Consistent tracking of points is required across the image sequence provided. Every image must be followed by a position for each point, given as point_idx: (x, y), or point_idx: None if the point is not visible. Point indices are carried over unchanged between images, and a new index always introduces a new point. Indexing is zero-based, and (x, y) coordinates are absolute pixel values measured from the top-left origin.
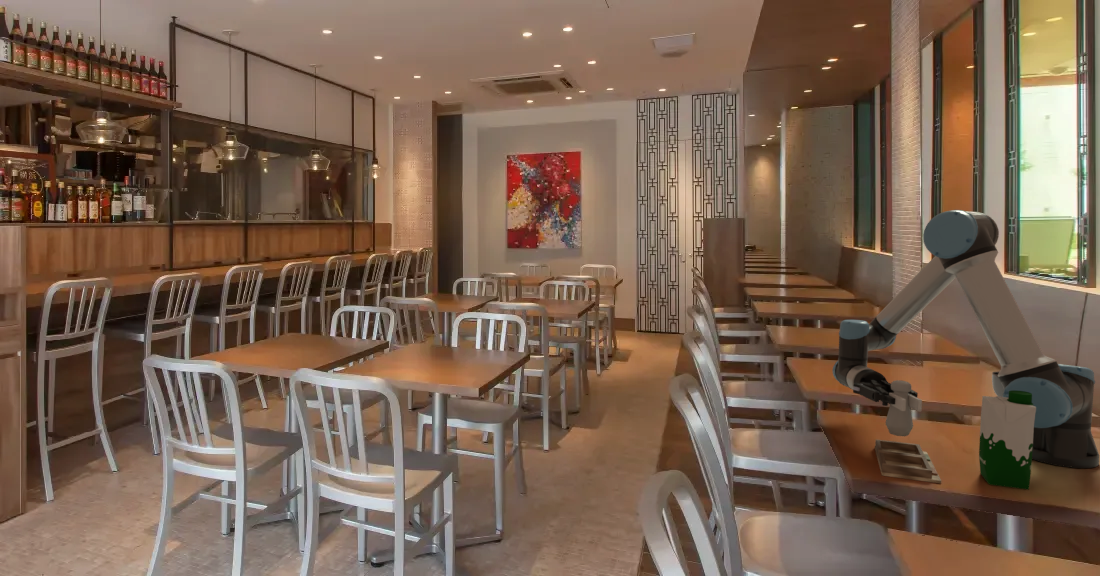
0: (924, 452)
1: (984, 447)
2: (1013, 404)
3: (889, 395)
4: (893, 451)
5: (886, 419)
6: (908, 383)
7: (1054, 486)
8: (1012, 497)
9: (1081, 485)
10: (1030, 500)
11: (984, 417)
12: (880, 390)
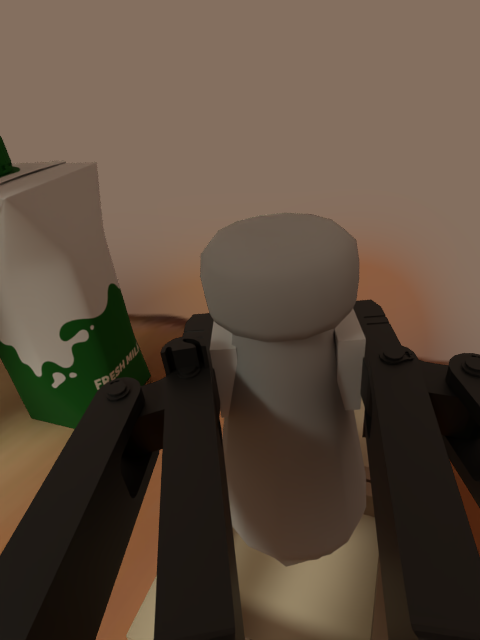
0: (145, 622)
1: (126, 313)
2: (42, 163)
3: (363, 351)
4: (300, 624)
5: (363, 486)
6: (238, 221)
7: (3, 386)
8: (159, 333)
9: None
10: (136, 328)
11: (97, 232)
12: (433, 415)
